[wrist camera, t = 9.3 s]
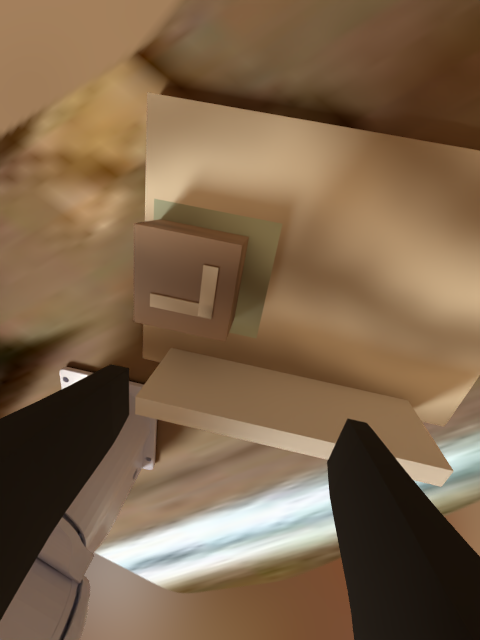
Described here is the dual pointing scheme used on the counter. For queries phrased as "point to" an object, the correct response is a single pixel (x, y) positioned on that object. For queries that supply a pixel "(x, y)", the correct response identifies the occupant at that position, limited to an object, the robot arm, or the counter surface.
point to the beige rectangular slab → (284, 410)
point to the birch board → (329, 247)
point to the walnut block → (187, 277)
